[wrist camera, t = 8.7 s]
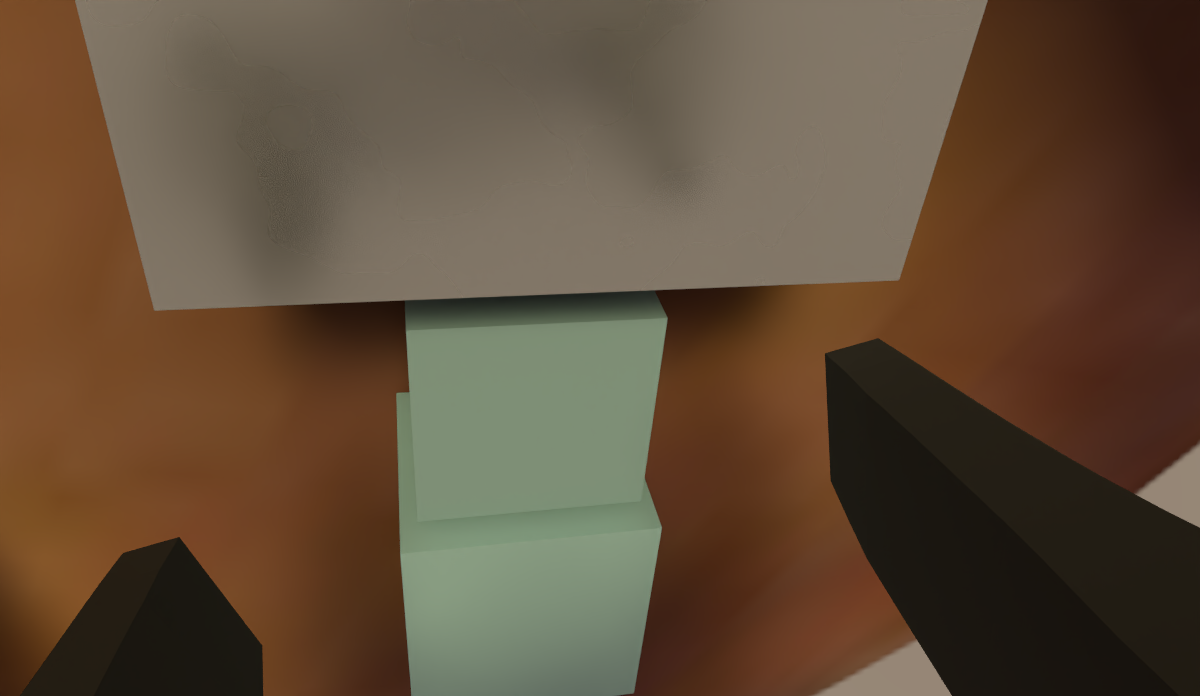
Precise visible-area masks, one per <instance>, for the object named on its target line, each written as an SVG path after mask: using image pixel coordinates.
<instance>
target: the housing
mask: <svg viewBox="0 0 1200 696" xmlns="http://www.w3.org/2000/svg"><path fill="white" fill-rule="evenodd" d="M987 1H988V0H75V2H76V6H77V10H78V13H79V17H80V21H81V25H82V29H83V33H84V37H85V41H86V45H87V49H88V53H89V57H90V60H91V64H92V68H93V72H94V76H95V80H96V84H97V88H98V92H99V96H100V100H101V104H102V107H103V111H104V115H105V119H106V123H107V127H108V131H109V135H110V139H111V143H112V147H113V151H114V155H115V158H116V162H117V166H118V170H119V174H120V178H121V182H122V186H123V190H124V194H125V198H126V202H127V205H128V209H129V213H130V217H131V221H132V225H133V229H134V233H135V237H136V241H137V245H138V249H139V252H140V256H141V260H142V264H143V268H144V272H145V276H146V280H147V284H148V288H149V292H150V296H151V299H152V303H153V307H154V310H179V309H204V308H228V307H253V306H277V305H302V304H327V303H351V302H376V301H400V300H425V299H450V298H474V297H499V296H523V295H548V294H573V293H597V292H622V291H647V290H671V289H696V288H720V287H745V286H770V285H794V284H819V283H843V282H868V281H893V280H899V278H900V275H901V272H902V269H903V266H904V263H905V259H906V256H907V253H908V250H909V247H910V244H911V240H912V237H913V234H914V231H915V228H916V225H917V222H918V218H919V215H920V212H921V209H922V206H923V203H924V200H925V196H926V193H927V190H928V187H929V184H930V181H931V177H932V174H933V171H934V168H935V165H936V162H937V159H938V155H939V152H940V149H941V146H942V143H943V140H944V137H945V133H946V130H947V127H948V124H949V121H950V118H951V115H952V111H953V108H954V105H955V102H956V99H957V96H958V92H959V89H960V86H961V83H962V80H963V77H964V74H965V70H966V67H967V64H968V61H969V58H970V55H971V52H972V48H973V45H974V42H975V39H976V36H977V33H978V29H979V26H980V23H981V20H982V17H983V14H984V11H985V7H986V4H987Z"/></svg>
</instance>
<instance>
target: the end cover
mask: <svg viewBox="0 0 1200 696" xmlns="http://www.w3.org/2000/svg"><path fill="white" fill-rule="evenodd" d="M667 319H668V318H667V316H666V314H665V312H664V309H663V307H662V305H661V303H660V301H659V299H658V297H657V295H656V293H655V291H654V290H647V291H622V292H597V293H573V294H548V295H523V296H499V297H474V298H450V299H425V300H405V320H406V339H407V356H408V373H409V389H410V392H406V393H396V395H397V436H398V477H399V519H400V556H401V569H402V581H403V594H404V607H405V620H406V632H407V645H408V658H409V671H410V683H411V696H617V695H624V694H631V693H634V690H635V684H636V678H637V672H638V666H639V660H640V654H641V648H642V642H643V637H644V631H645V625H646V619H647V613H648V607H649V601H650V595H651V589H652V583H653V577H654V571H655V565H656V560H657V554H658V548H659V542H660V536H661V530H662V527H661V524H660V521H659V518H658V515H657V512H656V510H655V507H654V504H653V501H652V498H651V495H650V492H649V489H648V487H647V484H646V481H645V478H644V477H645V470H646V463H647V456H648V449H649V443H650V436H651V429H652V422H653V415H654V408H655V401H656V394H657V388H658V381H659V374H660V367H661V360H662V353H663V346H664V340H665V333H666V326H667Z"/></svg>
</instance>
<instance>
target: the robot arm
mask: <svg viewBox="0 0 1200 696" xmlns="http://www.w3.org/2000/svg"><path fill="white" fill-rule="evenodd" d="M825 364H826V386H827V408H828V431H829V453H830V475H831V482H832V485H833V487H834V489H835V491H836V493H837V495H838V498H839V500H840V502H841V504H842V506H843V509H844V511H845V513H846V515H847V517H848V520H849V522H850V524H851V526H852V528H853V530H854V532H855V534H856V536H857V539H858V541H859V543H860V545H861V547H862V549H863V551H864V553H865V555H866V557H867V559H868V561H869V563H870V564H871V566H872V568H873V569H874V571H875V573H876V574H877V576H878V577H879V579H880V581H881V582H882V584H883V586H884V587H885V589H886V590H887V592H888V594H889V595H890V597H891V599H892V600H893V602H894V603H895V605H896V607H897V608H898V610H899V612H900V613H901V615H902V616H903V618H904V620H905V621H906V623H907V624H908V626H909V628H910V629H911V631H912V632H913V634H914V636H915V637H916V639H917V640H918V642H919V644H920V645H921V647H922V648H923V650H924V651H925V653H926V655H927V656H928V658H929V660H930V661H931V663H932V664H933V666H934V668H935V669H936V671H937V672H938V674H939V675H940V677H941V679H942V680H943V682H944V684H945V685H946V687H947V688H948V690H949V692H950V693H951V695H952V696H1200V528H1199V527H1197V526H1195V525H1193V524H1191V523H1189V522H1187V521H1185V520H1183V519H1181V518H1179V517H1177V516H1175V515H1173V514H1171V513H1169V512H1167V511H1165V510H1163V509H1161V508H1159V507H1158V506H1156V505H1154V504H1152V503H1150V502H1148V501H1146V500H1144V499H1142V498H1141V497H1139V496H1137V495H1135V494H1133V493H1131V492H1129V491H1128V490H1126V489H1124V488H1122V487H1120V486H1118V485H1116V484H1114V483H1113V482H1111V481H1109V480H1107V479H1105V478H1103V477H1102V476H1100V475H1098V474H1096V473H1094V472H1093V471H1091V470H1089V469H1087V468H1086V467H1084V466H1082V465H1080V464H1079V463H1077V462H1075V461H1073V460H1072V459H1070V458H1068V457H1066V456H1065V455H1063V454H1061V453H1060V452H1058V451H1056V450H1055V449H1053V448H1051V447H1050V446H1048V445H1046V444H1045V443H1043V442H1041V441H1040V440H1038V439H1036V438H1035V437H1033V436H1031V435H1030V434H1028V433H1026V432H1025V431H1023V430H1021V429H1020V428H1018V427H1016V426H1015V425H1013V424H1011V423H1010V422H1008V421H1006V420H1005V419H1003V418H1002V417H1000V416H998V415H997V414H995V413H994V412H992V411H990V410H989V409H987V408H986V407H984V406H983V405H981V404H979V403H978V402H976V401H975V400H973V399H972V398H970V397H968V396H967V395H965V394H964V393H962V392H961V391H959V390H957V389H956V388H954V387H953V386H951V385H950V384H948V383H947V382H945V381H944V380H942V379H940V378H939V377H937V376H936V375H934V374H933V373H931V372H930V371H928V370H927V369H925V368H924V367H922V366H921V365H919V364H917V363H916V362H914V361H913V360H911V359H910V358H908V357H907V356H905V355H904V354H902V353H900V352H899V351H897V350H896V349H894V348H893V347H891V346H889V345H888V344H886V343H885V342H883V341H882V340H880V339H874V340H871V341H867V342H864V343H860V344H857V345H853V346H850V347H846V348H842V349H839V350H835V351H832V352H828V353H825ZM20 696H263V661H262V645H261V643H260V642H259V641H258V640H257V638H256V637H255V636H254V634H253V633H252V632H251V630H250V629H249V628H248V626H247V625H246V624H245V623H244V621H243V620H242V619H241V617H240V616H239V615H238V613H237V612H236V611H235V609H234V608H233V607H232V606H231V604H230V603H229V602H228V600H227V599H226V598H225V596H224V595H223V594H222V592H221V591H220V590H219V589H218V587H217V586H216V585H215V583H214V582H213V581H212V579H211V578H210V577H209V575H208V574H207V573H206V572H205V570H204V569H203V568H202V566H201V565H200V564H199V562H198V561H197V560H196V558H195V557H194V556H193V555H192V553H191V552H190V551H189V549H188V548H187V547H186V545H185V544H184V543H183V541H182V540H181V539H180V537H178V538H174V539H171V540H167V541H164V542H160V543H157V544H153V545H150V546H146V547H143V548H139V549H136V550H132V551H129V552H125V553H123V554H122V555H121V556H120V558H119V559H118V560H117V562H116V563H115V564H114V565H113V567H112V568H111V569H110V571H109V572H108V573H107V575H106V576H105V577H104V579H103V580H102V581H101V583H100V584H99V585H98V587H97V588H96V590H95V591H94V592H93V594H92V595H91V597H90V598H89V599H88V601H87V602H86V603H85V605H84V606H83V608H82V609H81V611H80V612H79V613H78V615H77V616H76V618H75V619H74V620H73V622H72V623H71V625H70V626H69V627H68V629H67V630H66V632H65V633H64V635H63V636H62V637H61V639H60V640H59V642H58V643H57V644H56V646H55V647H54V649H53V650H52V652H51V653H50V654H49V656H48V657H47V659H46V660H45V661H44V663H43V664H42V666H41V667H40V669H39V670H38V671H37V673H36V674H35V676H34V677H33V678H32V680H31V681H30V682H29V684H28V685H27V687H26V688H25V689H24V691H23V692H22V694H21V695H20Z"/></svg>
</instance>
